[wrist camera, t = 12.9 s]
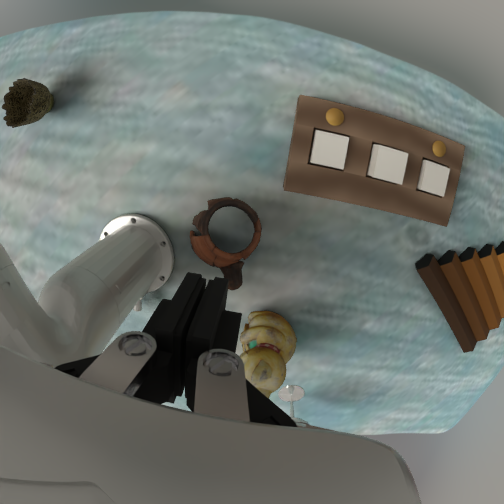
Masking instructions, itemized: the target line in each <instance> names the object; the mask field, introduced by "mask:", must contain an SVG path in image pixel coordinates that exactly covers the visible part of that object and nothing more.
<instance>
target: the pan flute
mask: <svg viewBox="0 0 504 504" xmlns="http://www.w3.org/2000/svg"><path fill="white" fill-rule="evenodd" d="M438 262H439V264H438ZM438 262H437V260H436V258H435V257H434V255H431V254H426V255H424V256H423V257H422V258H421V259H420V260H419V261H418V262H417V263H415V266H416V270H417V271H418V273H419V275H420V276H421V278H422V279H423V281H424V283H425V284H426V286H427V287H428V289H429V291H430V292H431V294H432V296H433V297H434V299H435V301H436V302H437V304H438V306H439V308H440V309H441V311H442V313H443V314H444V316H445V318H446V320H447V322H448V323H449V325H450V327H451V329H452V331H453V333H454V335H455V336H456V338H457V340H458V342H459V344H460V346H461V348H462V350H463V352H464V353H465V352H470V351H473V350H474V348H475V345H476V343H477V341H481V340H485V339H487V336H488V333H489V330H491V329H495V328H499V325H500V322H501V319H502V318H504V242H503V241H502V242H501V243H500V244H499V245H498V246H497V248H496V249H494V246H493V245H489V244H486V245H485V246H484V247H483V248H482V249H481V250H480V251H479V252H478V253H477V251H476V249H475V248H471V247H468V248H467V249H466V250H465V251H464V252H463V253H462V254H461V255H460V256H459V257H458V255H457V253H456V252H455V251H451V250H448V251H447V252H446V253H445V254H444V255H443V256H442V257H441V258H440V259H438Z"/></svg>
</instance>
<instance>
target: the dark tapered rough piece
mask: <svg viewBox="0 0 504 504" xmlns="http://www.w3.org/2000/svg"><path fill="white" fill-rule="evenodd" d="M13 85H14V86H13V87H9V92H8V93H7V94H6V95H5V96H4V102H5V104H3V105H2V109H4V110H6V114H7V116H5V117H4V120H5V121H7V122H6V124H7V126H12V128H14V127H18V126H22V125H27V124H31V123H34V122H36V121H38V120H40V119H41V118H42V117H43V116H44V115H45V114H46V113H48V112H49V111H50V110H51V109H52V108H53V105H54V97H53V95H52V94H51V93H50V92H49V90H48V88H47V87H46V86H45V85H43V84H41V83H38V82H35V81H32V80H28V79H25V78H23V79H18V80H17V81H15V82H13Z"/></svg>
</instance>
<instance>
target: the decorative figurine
mask: <svg viewBox="0 0 504 504" xmlns="http://www.w3.org/2000/svg"><path fill="white" fill-rule="evenodd" d="M248 319H249V320H248V322H249V324H245V327H244V331H243V332H242V333H241V336H240V341H241V343H242V347H243V353H242V354H241V356H240V358H241V359H242V360H243V363H244V369H245V378H246V379H247V380H248V381H249V382H250V383H251V384H252V385H254V386H255V387H256V388H257V389H258V390H259V391H260V392H261V393H263V394H264V395H265V396H266V397H267V398H268V399H269V396H270V394H271V393H272V392H274V391H276V390H277V389H278V388H279V387H280V386H281V385H282V384H283V382H284V380H285V377H286V363H287V362H288V361H289V360H290V359H291V357H292V356H293V354H294V352H295V348H296V342H297V338H296V337H295V333H294V331H293V329H292V327H291V325H290V324H289V323H288V322H287V321H286V320H285V319H284V318H283V317H282V316H280V315H279V314H277V313H274V312H270V311H253V312H251V313H250V314H249V317H248Z"/></svg>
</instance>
